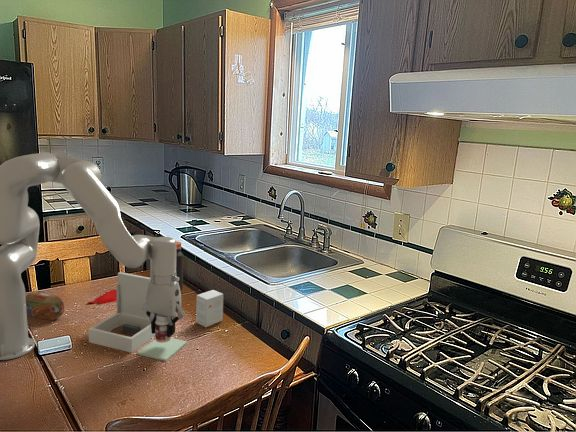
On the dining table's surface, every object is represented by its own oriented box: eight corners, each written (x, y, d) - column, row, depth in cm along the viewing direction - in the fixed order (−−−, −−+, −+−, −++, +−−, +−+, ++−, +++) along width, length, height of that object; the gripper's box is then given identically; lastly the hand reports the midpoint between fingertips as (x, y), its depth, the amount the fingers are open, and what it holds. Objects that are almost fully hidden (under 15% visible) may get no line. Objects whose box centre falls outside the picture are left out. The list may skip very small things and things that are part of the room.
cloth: (144, 285, 189) (144, 280, 188) (155, 297, 178) (155, 291, 177) (78, 297, 173) (78, 291, 172) (87, 310, 162) (87, 304, 162)
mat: (166, 361, 130) (166, 359, 130) (137, 354, 133) (137, 352, 133) (187, 343, 141) (187, 341, 141) (160, 337, 144) (160, 335, 144)
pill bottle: (154, 336, 138) (154, 311, 136) (170, 335, 140) (170, 310, 138) (155, 344, 134) (155, 318, 132) (171, 342, 135) (172, 316, 134)
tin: (22, 315, 153) (21, 292, 152) (30, 311, 156) (28, 289, 155) (59, 322, 150) (58, 299, 148) (66, 318, 153) (65, 296, 151)
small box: (212, 316, 162) (213, 289, 160) (223, 320, 159) (223, 293, 157) (195, 322, 156) (196, 294, 154) (205, 327, 153) (206, 299, 151)
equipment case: (131, 352, 134) (131, 295, 130) (88, 342, 138) (87, 286, 135) (160, 331, 148) (160, 279, 144) (120, 322, 153) (120, 272, 149)
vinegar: (178, 284, 191) (179, 240, 187) (185, 289, 186) (186, 243, 182) (163, 287, 187) (163, 241, 183) (170, 292, 182) (171, 245, 178)
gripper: (194, 278, 134) (193, 333, 137) (146, 270, 139) (146, 323, 142) (181, 286, 127) (180, 344, 130) (131, 277, 131) (132, 333, 135)
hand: (163, 333), depth 136 cm, fingers closed on pill bottle, 4 cm apart
